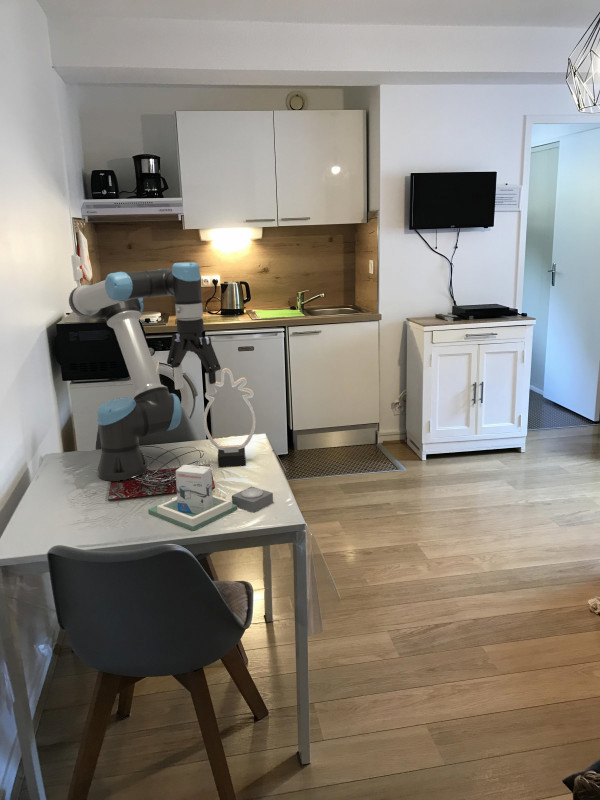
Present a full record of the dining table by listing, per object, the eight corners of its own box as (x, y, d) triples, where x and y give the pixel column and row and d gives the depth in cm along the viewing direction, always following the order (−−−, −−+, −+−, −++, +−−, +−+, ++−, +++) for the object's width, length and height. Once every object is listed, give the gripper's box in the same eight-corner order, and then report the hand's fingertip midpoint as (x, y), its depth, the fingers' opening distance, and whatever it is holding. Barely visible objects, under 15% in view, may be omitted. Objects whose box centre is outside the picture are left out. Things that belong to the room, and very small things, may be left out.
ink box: (177, 512, 173) (173, 470, 170) (186, 504, 177) (182, 464, 174) (206, 515, 170) (203, 473, 167) (214, 507, 175) (211, 466, 172)
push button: (232, 505, 179) (231, 493, 178) (252, 496, 185) (251, 484, 184) (253, 512, 174) (252, 500, 173) (273, 502, 180) (272, 490, 179)
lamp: (257, 456, 218) (252, 363, 210) (258, 465, 209) (253, 369, 201) (206, 459, 216) (200, 366, 208) (205, 468, 208) (199, 372, 200)
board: (148, 513, 175) (147, 502, 174) (193, 494, 187) (192, 484, 186) (193, 530, 164) (192, 519, 163) (237, 509, 176) (236, 498, 175)
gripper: (150, 317, 187) (157, 388, 193) (210, 322, 172) (215, 400, 177) (171, 314, 193) (176, 383, 198) (230, 319, 177) (234, 394, 183)
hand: (194, 391), depth 188 cm, fingers open, 13 cm apart
